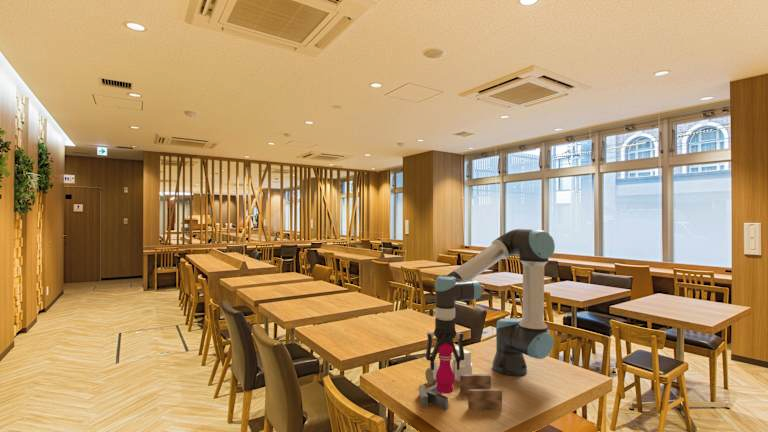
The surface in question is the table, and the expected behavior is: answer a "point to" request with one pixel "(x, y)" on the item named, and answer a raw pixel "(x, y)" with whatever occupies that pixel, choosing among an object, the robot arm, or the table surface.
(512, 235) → the robot arm
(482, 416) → the table surface
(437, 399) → the letter k block
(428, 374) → the ceramic mug
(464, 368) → the base with upright slab
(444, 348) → the pepper mill
